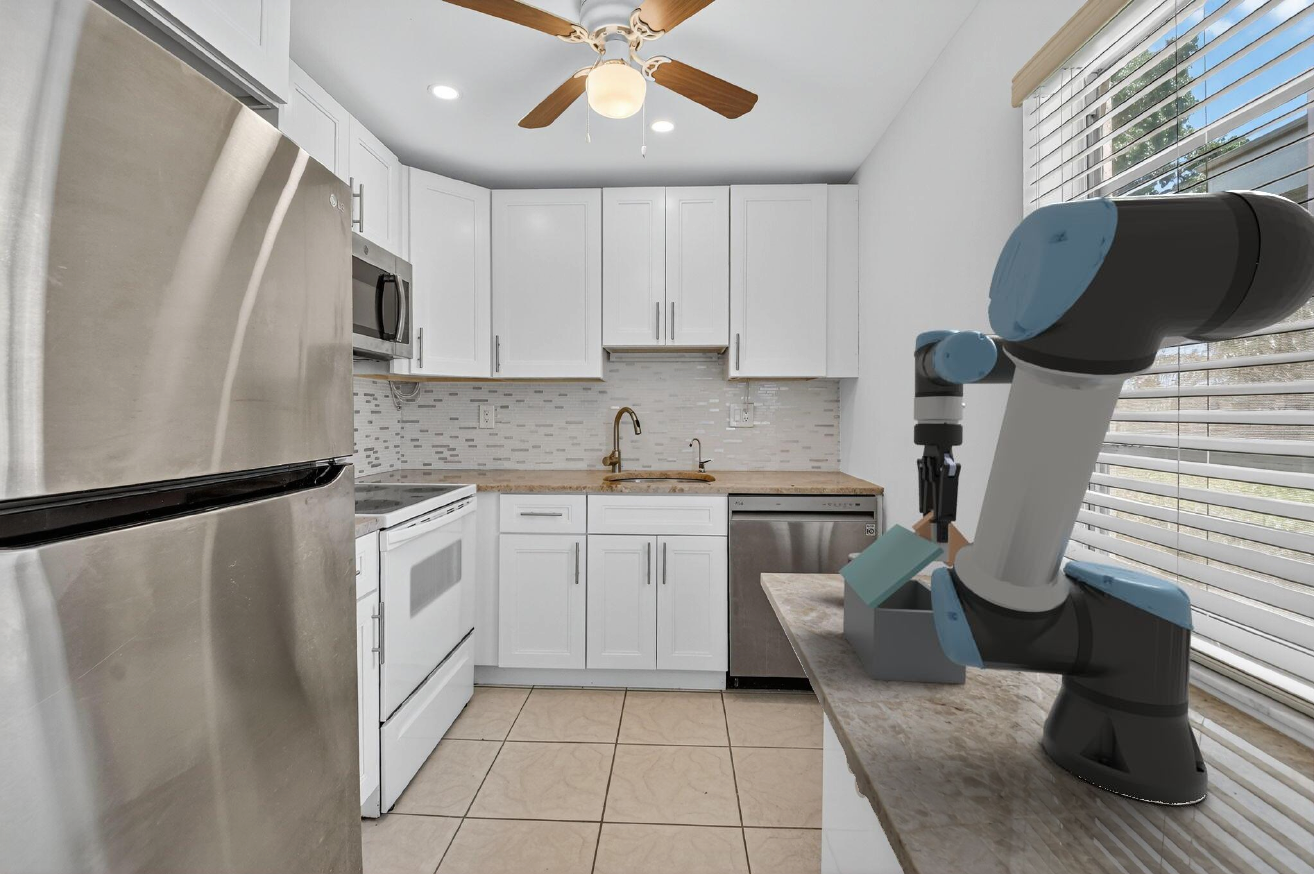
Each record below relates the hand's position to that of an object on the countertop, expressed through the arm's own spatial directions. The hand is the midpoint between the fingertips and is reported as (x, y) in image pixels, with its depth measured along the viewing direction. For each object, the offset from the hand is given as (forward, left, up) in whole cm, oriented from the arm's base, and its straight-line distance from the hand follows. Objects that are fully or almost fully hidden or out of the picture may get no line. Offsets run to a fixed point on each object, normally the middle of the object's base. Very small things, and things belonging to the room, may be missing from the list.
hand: (936, 558), depth 98 cm
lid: (0, +2, -4) cm, 5 cm away
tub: (0, +6, -17) cm, 18 cm away
